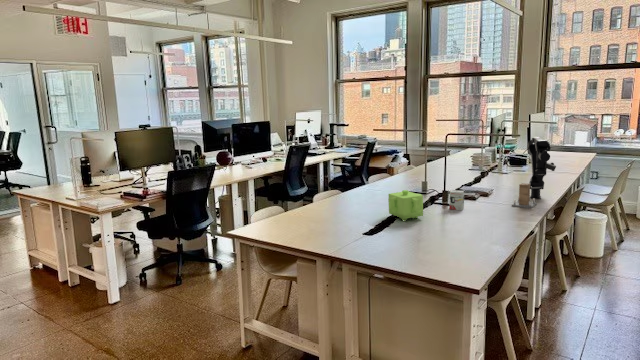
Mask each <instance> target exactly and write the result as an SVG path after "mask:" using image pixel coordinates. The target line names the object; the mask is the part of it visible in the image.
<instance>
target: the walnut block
mask: <svg viewBox="0 0 640 360" xmlns="http://www.w3.org/2000/svg"><path fill="white" fill-rule="evenodd" d="M518 187H519V188H518V189H519V190H518V197H519V204H522V205H528V204H529V201H531V198H530V196H531V189H530V184H529V183H525V182H521V183H520V184H519V186H518Z"/></svg>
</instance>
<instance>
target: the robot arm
mask: <svg viewBox="0 0 640 360" xmlns="http://www.w3.org/2000/svg"><path fill="white" fill-rule="evenodd" d="M526 149H527V152H528V154H529V155H530V159H531V160H530V161H531V174H532V176H531V177H530V180H529V182H528V184H530V199H533V198H535V199H541V197H542V196H541V190H544V189H545V182H544V177H545V176H547V170H550V171H551V172H555V170H556V168H557V165H555V163H554V162H550V163H549V162H548V161H550V159H551V155H550V153H548V152H551V149H552V148H551V144H550V142H549V140H548V139H542V138H541V137H540V136H533V137H531V139H530V140H529V141H528V142H527V146H526Z"/></svg>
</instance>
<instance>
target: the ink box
mask: <svg viewBox="0 0 640 360" xmlns="http://www.w3.org/2000/svg"><path fill="white" fill-rule="evenodd" d="M448 199H449V203H448V204H449V209H448V210H455V211H463V210H464V209H465V191H464V190H458V189H456V190H455V189H452V190H450V191H449V198H448Z"/></svg>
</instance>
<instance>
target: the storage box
mask: <svg viewBox="0 0 640 360" xmlns="http://www.w3.org/2000/svg"><path fill="white" fill-rule="evenodd" d="M387 196H388V213H389V215H392V216H393V217H394V216H397V217H399V218H398V219H400V220H401V219H402V220H407V221H408V219H413V218H418V217H424V196H423V194H421V193H415V192H412V191H409V190H407V189H406V190H405V189H404V190H402V191H399V192H398V191H397V192H392V193H388V195H387ZM418 219H419V218H418Z"/></svg>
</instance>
